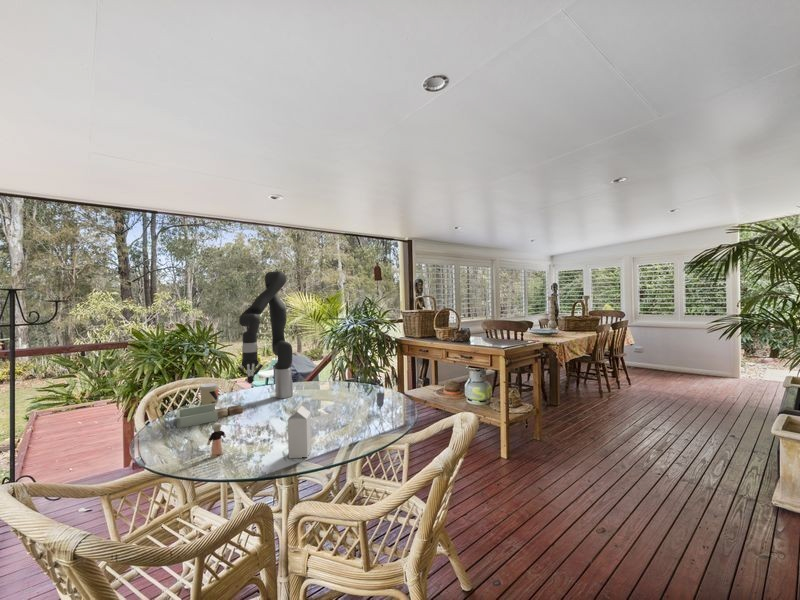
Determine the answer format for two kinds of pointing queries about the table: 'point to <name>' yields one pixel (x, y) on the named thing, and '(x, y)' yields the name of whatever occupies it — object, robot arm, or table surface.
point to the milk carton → (299, 432)
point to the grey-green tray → (196, 415)
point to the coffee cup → (209, 393)
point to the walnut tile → (235, 410)
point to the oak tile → (221, 412)
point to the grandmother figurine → (216, 440)
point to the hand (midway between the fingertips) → (250, 382)
